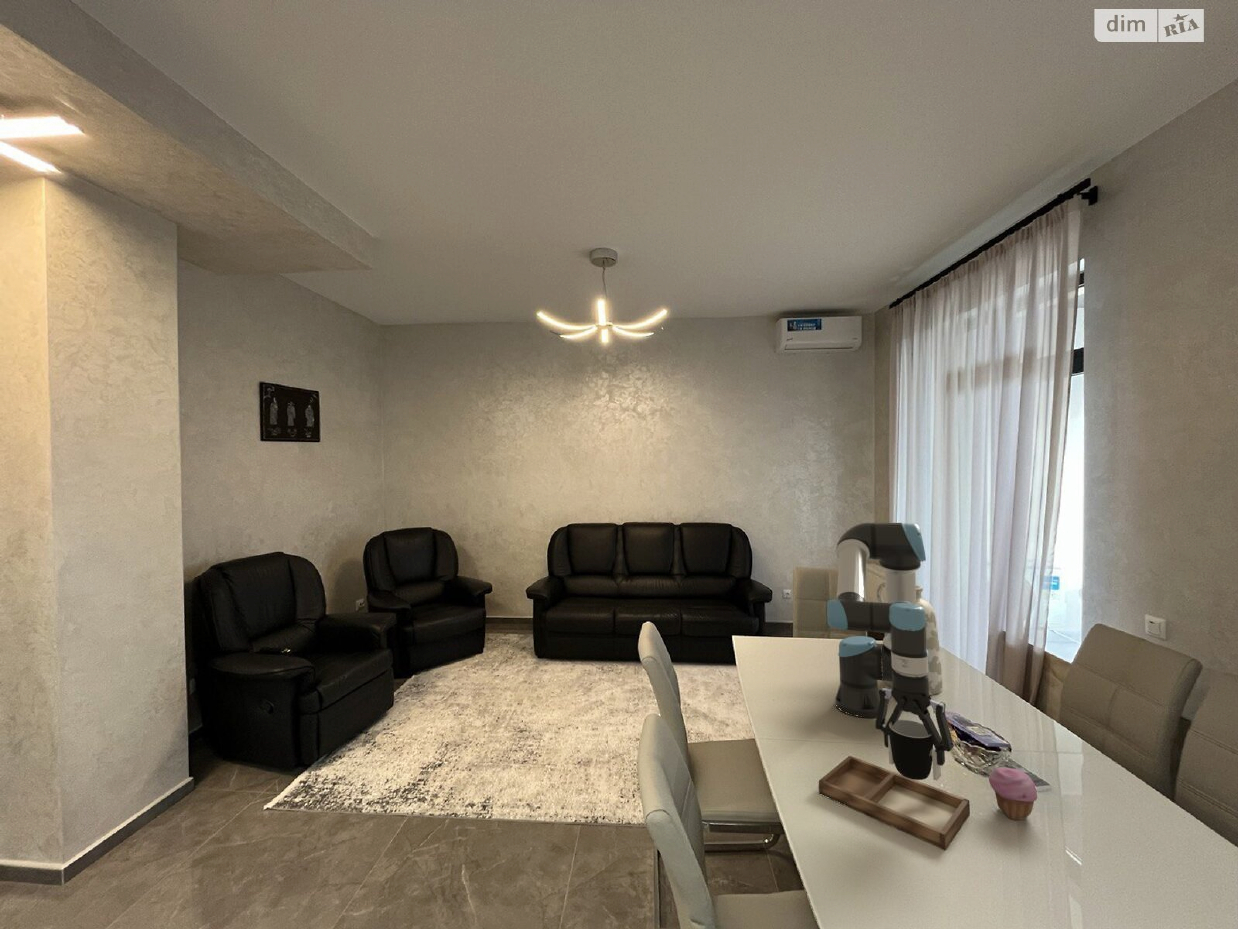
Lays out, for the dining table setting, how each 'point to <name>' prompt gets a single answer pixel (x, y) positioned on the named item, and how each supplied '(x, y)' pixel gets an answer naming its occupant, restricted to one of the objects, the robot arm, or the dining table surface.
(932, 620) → the vase
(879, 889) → the dining table surface
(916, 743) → the mug
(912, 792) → the organizer box
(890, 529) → the robot arm
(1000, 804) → the cupcake
